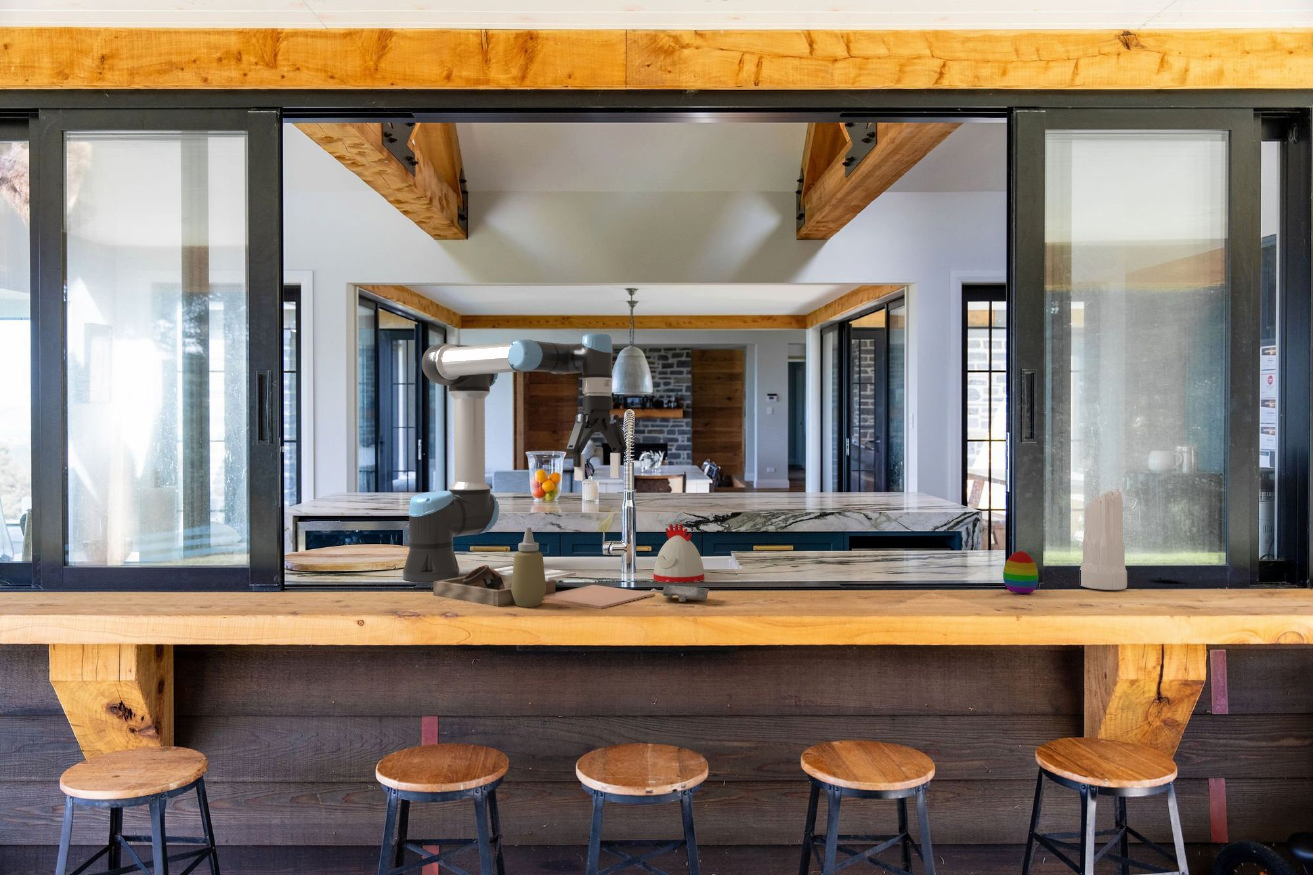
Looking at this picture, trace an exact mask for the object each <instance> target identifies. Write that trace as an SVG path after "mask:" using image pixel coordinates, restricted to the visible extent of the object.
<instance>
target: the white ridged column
mask: <svg viewBox="0 0 1313 875" xmlns="http://www.w3.org/2000/svg"><path fill="white" fill-rule="evenodd" d="M1122 495H1123V494H1122V491H1119V489H1118V488H1116V489H1114V490H1113V491H1112V490H1107V491H1106V492H1104V493H1101V494H1100V495H1099V496H1096V497H1091V500H1090V503H1088V504H1087V505H1086V506H1085V509H1084V510H1085V511H1084V533H1083V539H1082V562H1081V565H1080V567H1079V571H1080V570H1081V585H1080V586H1081V587H1083V588H1087V589H1093V590H1094V589H1095V590H1105V591H1107V590H1108V591H1109V590H1110V591H1118V590H1125V589H1127V587H1128V570H1127V569H1126V565H1125V561H1126V560H1125V552H1126V551H1125V544H1124V543H1125V542H1124V540H1123V538H1124V537H1123V536H1124V535H1123V532H1124V530H1123V529H1124V527H1123V522H1124V520H1123V518H1124V516H1123V515H1124V514H1123V512H1124V511H1123V510H1124V509H1123V508H1124V507H1123V505H1124V504H1123V496H1122Z"/></svg>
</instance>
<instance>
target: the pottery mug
mask: <svg viewBox="0 0 1313 875" xmlns="http://www.w3.org/2000/svg"><path fill="white" fill-rule="evenodd" d="M494 569H495V568H490V566H489V565H488V564H484V565H480V566H478V567H476V568H475V569H473V570H472V571H470V572H469V573H468V574H467V575H465V578H464V579H463V580H462V581H463V582H464V584H465V585H468V586H475V587H476V586H483V585H482V580H483V582H484V583H485V586H486V587H485V588H488V589H494V590H495V589H496V590H501V589H506V588H505V586H504V583H503V580H502V578H501V576H500V575H499V573H498V572H497V571H495V570H494Z"/></svg>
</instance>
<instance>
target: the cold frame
mask: <svg viewBox="0 0 1313 875" xmlns="http://www.w3.org/2000/svg"><path fill="white" fill-rule="evenodd" d="M493 569H494V570H495V571H497V572H498V573H499V575H500V576H501V578H502V580H503V583H504V586H505V589H501V590H497V589H495V588H494V589H488V588H486V586H485V583H484V582H483V580H482V585H483V586H476V587H475V586H468V585H465V584H464V582H463V581H462V580H463V579H464V578H465V576H466V575H465V576H459V577H458V578H452V579H446V580H440V581H434V582H432V585H433V586H432V587H433V589H432V590H433V591H432V592H433V593H432V594H433V596H434V597H440V598H446V599H450V600H457V601H461V602H462V601H464V602H467V601H468V602H469V603H474V604H480V605H485V604H486V605H485V606H492V607H497V608H498V607H503V606H508V605H513V604H515V601H514V598H513V595H512V592H511V586H512V576H513V565H511V566H505V567H500V568H493ZM544 572H545V582H546V591H545V594H544V595H547V594H552V593H556V580H559V579H564V578H565V579H566V578H570V577H575V576H576V575H577V574H576V572H575V571H567V570H558V569H551V568H545V567H544ZM468 602H467V603H468Z"/></svg>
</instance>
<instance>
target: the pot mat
mask: <svg viewBox="0 0 1313 875" xmlns="http://www.w3.org/2000/svg"><path fill="white" fill-rule="evenodd" d="M653 595H655V596H656V592H651V591H650V592H647V591H642V590H641V591H640V590H634V589H627V588H619V587H612V586H611V587H610V586H605V585H604V586H603V585H597V584H590V585H586V586H581V587H576V588H571V589H568V590H563V591H557V592H555V593H552V594H547V595H544V597H543V599H544V600H543V601H549V602H556V603H561V604H562V603H563V604H567V605H568V604H569V605H575V606H579V607H580V606H581V607H586V608H587V607H588V608H595V609H601V610H602V609H606V608H610V607H609V606H611V607H614V605H615V606H617V605H616V604H619V605H622V604H621V603H623V604H626V603H625V602H627V603H629V602H628V601H631V602H634V601H633V600H635V599H639V600H642V599H641V598H643V599H645V598H644V597H647V598H651V597H654V596H653ZM635 601H636V600H635Z"/></svg>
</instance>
